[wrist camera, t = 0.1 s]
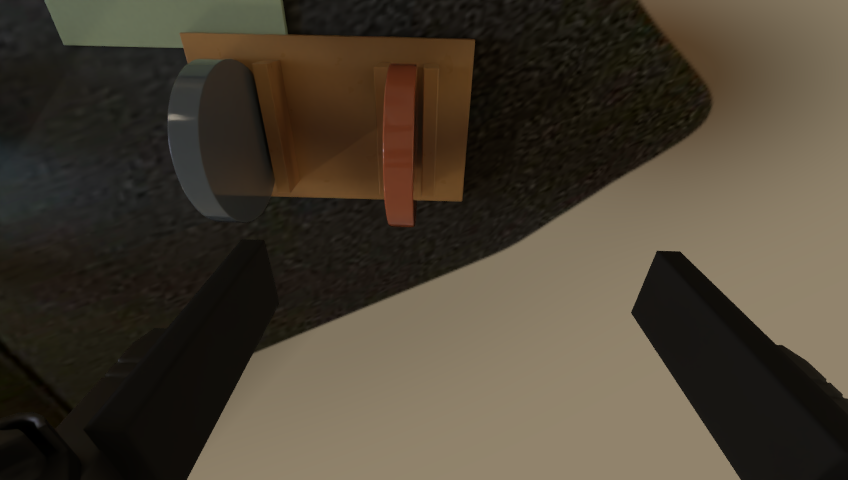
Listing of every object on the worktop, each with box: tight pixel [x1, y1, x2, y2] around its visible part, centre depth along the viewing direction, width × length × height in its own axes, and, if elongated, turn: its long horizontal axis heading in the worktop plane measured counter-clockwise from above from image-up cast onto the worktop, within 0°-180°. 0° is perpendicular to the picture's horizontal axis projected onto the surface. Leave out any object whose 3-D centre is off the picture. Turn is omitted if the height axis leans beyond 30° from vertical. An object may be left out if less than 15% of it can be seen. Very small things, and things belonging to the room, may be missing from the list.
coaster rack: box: [179, 32, 475, 201], centre depth 28 cm, size 12×20×4 cm, turn 89°
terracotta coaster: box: [383, 63, 419, 227], centre depth 24 cm, size 10×2×10 cm, turn 179°
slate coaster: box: [167, 58, 275, 223], centre depth 24 cm, size 10×2×10 cm, turn 179°
